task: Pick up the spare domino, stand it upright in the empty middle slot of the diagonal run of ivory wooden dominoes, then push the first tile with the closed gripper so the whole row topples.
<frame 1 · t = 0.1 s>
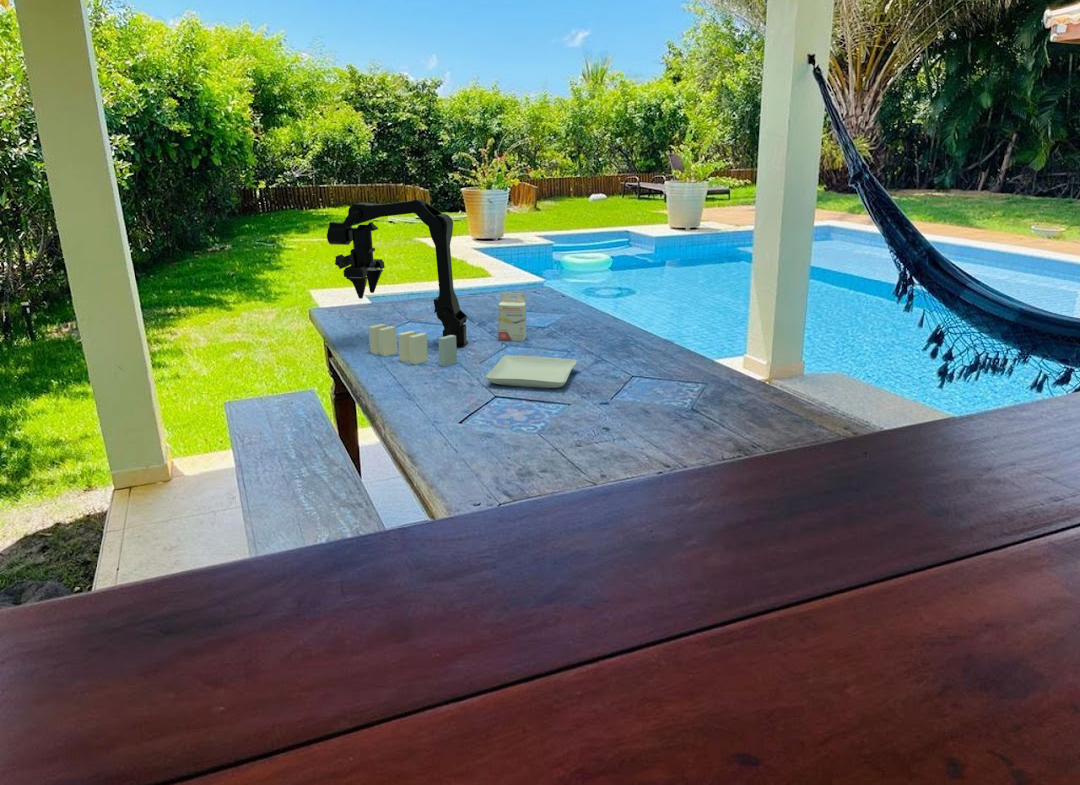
hand: (366, 295, 240), 15 cm above the table, tool pointing down, fingers open, 9 cm apart
salad plate: (533, 379, 207), on the table
domino 5: (419, 362, 222), on the table
domino 4: (408, 359, 225), on the table
ink cartridge box: (512, 339, 247), on the table
domino 2: (388, 354, 230), on the table
spare domino: (448, 364, 220), on the table
domino 1: (379, 351, 233), on the table
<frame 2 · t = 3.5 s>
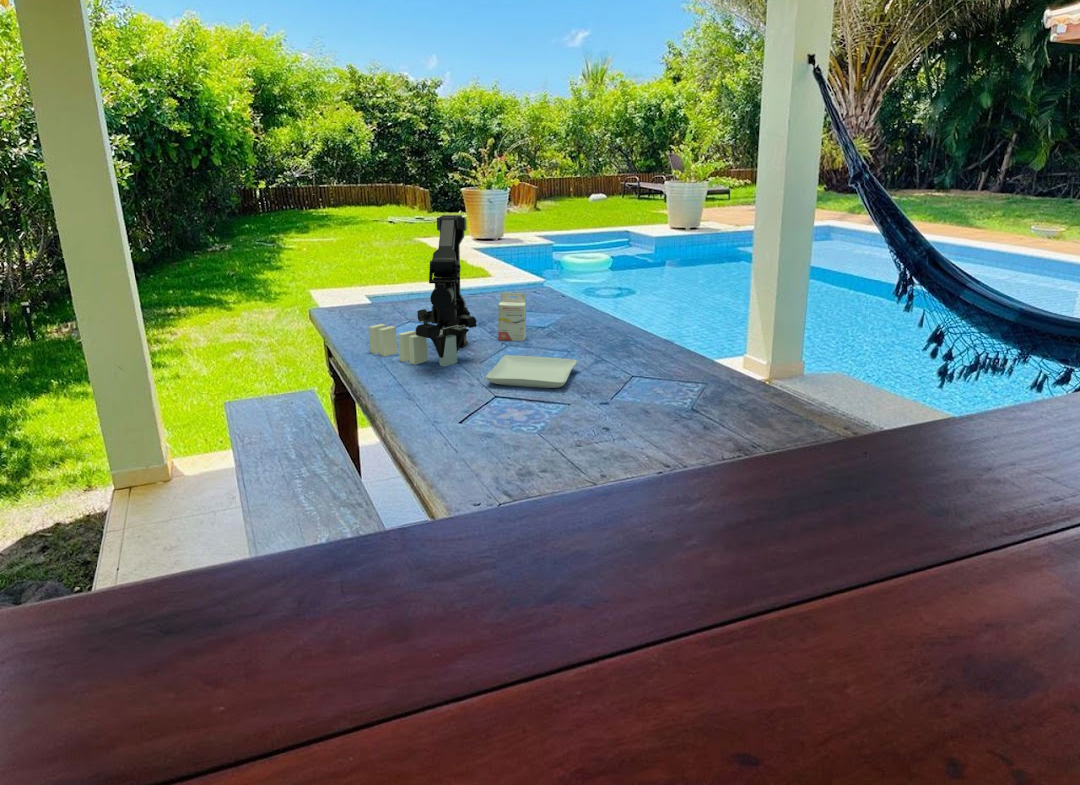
hand: (448, 355, 219), 3 cm above the table, tool pointing down, fingers closed on spare domino, 5 cm apart
spare domino: (448, 364, 220), on the table, touching gripper
everything else where it was.
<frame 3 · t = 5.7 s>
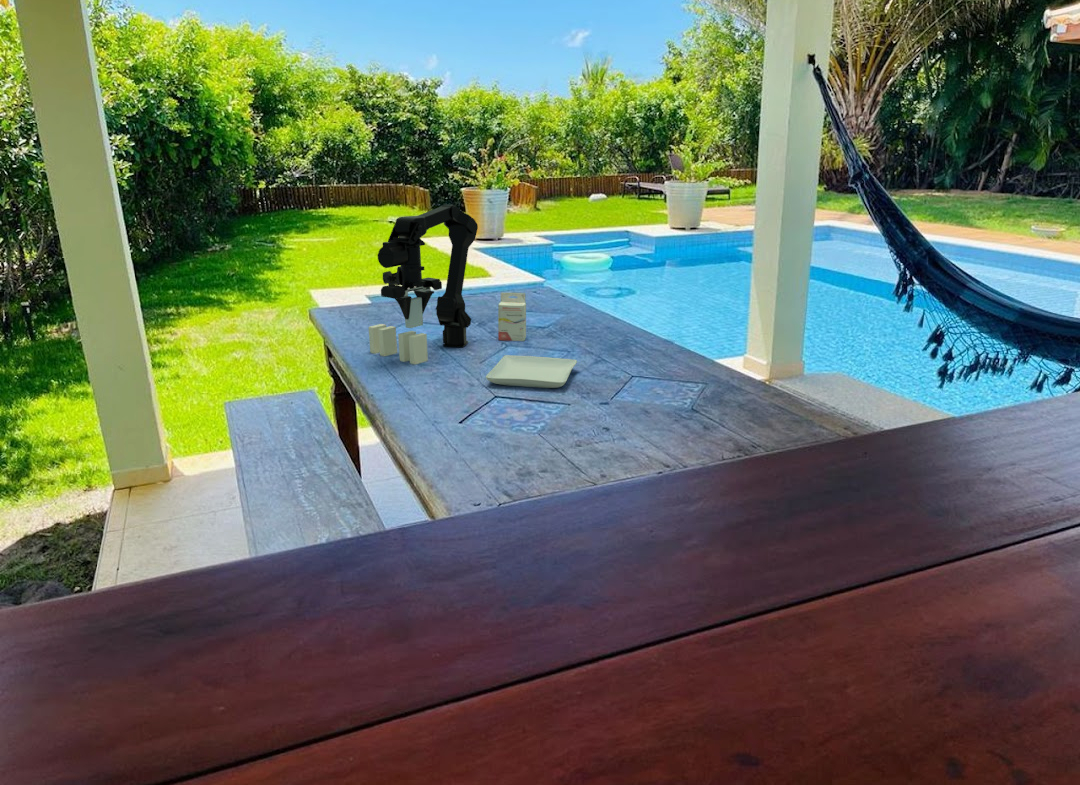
hand: (413, 317, 221), 12 cm above the table, tool pointing down, fingers closed on spare domino, 5 cm apart
spare domino: (414, 326, 221), point 10 cm above the table, touching gripper
everything else where it was.
when the fingers open (4 cm above the table, at t = 8.2 s): spare domino stays where it is, on the table.
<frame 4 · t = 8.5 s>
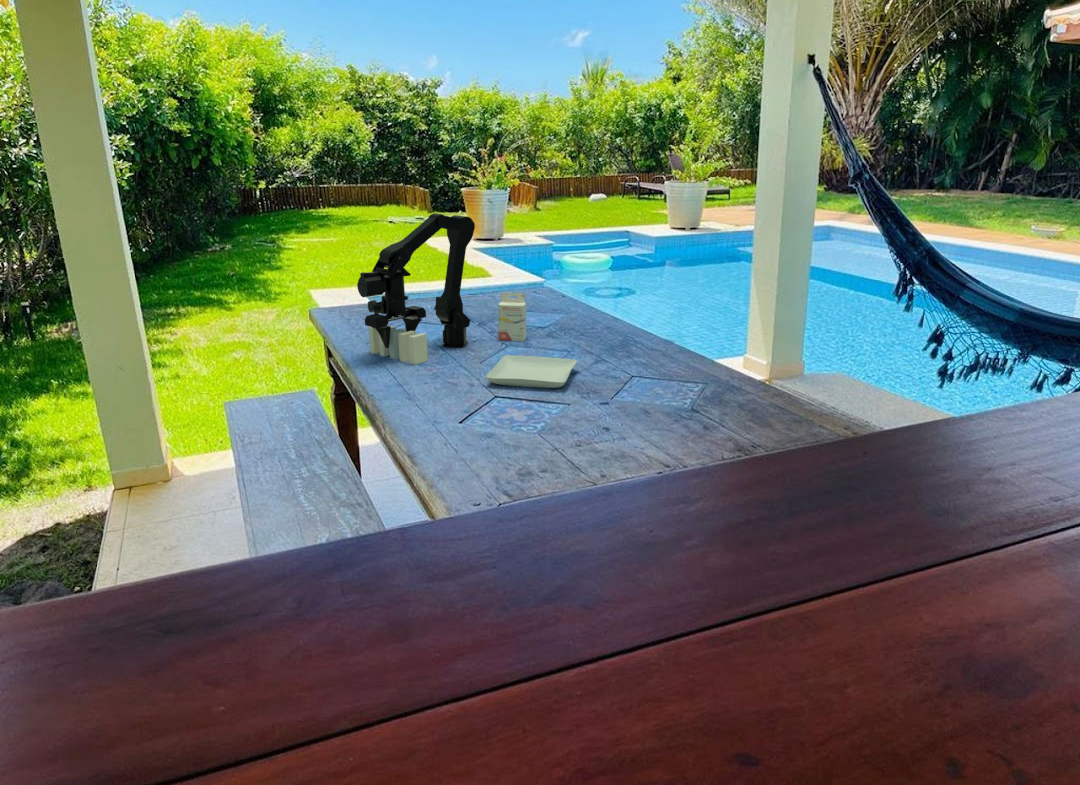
hand: (397, 345, 226), 4 cm above the table, tool pointing down, fingers open, 8 cm apart
spare domino: (398, 356, 227), on the table
everything else where it was.
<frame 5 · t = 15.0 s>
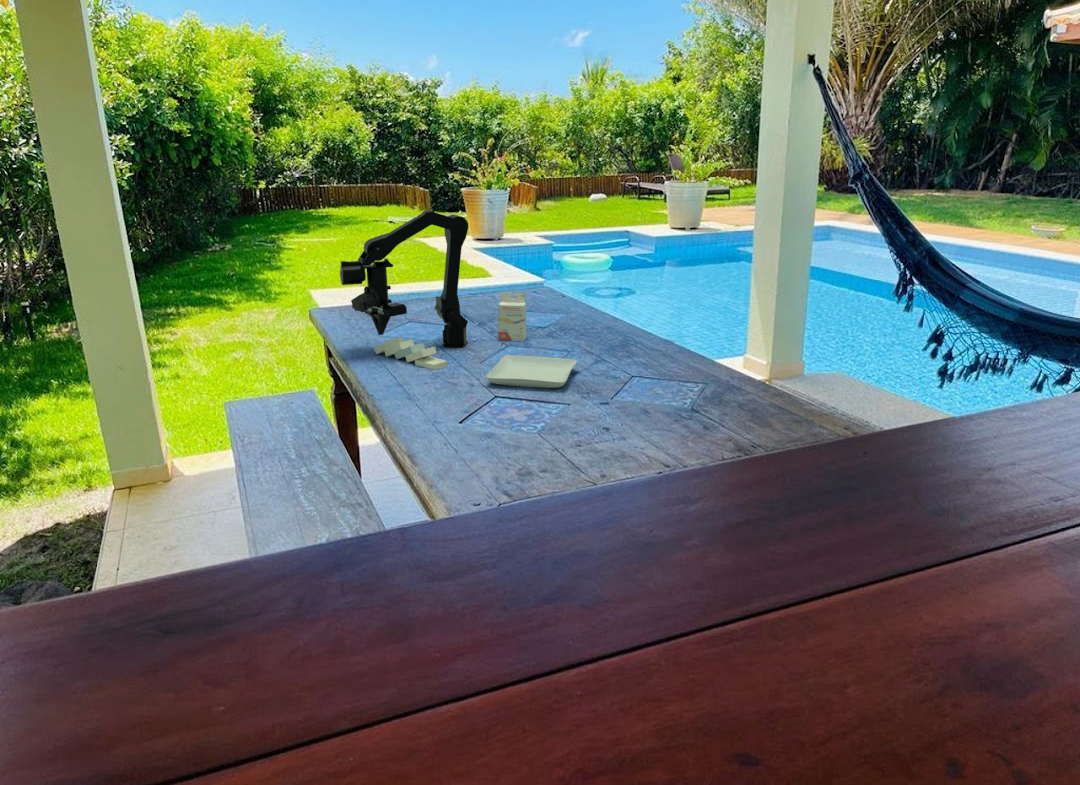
hand: (380, 334, 230), 6 cm above the table, tool pointing down, fingers closed
domino 5: (421, 361, 221), on the table, tilted 90°, touching domino 4
domino 4: (412, 357, 223), point 1 cm above the table, tilted 67°, touching domino 5, spare domino
domino 2: (391, 351, 229), point 1 cm above the table, tilted 64°, touching domino 1, spare domino
spare domino: (401, 354, 226), point 1 cm above the table, tilted 66°, touching domino 2, domino 4
domino 1: (381, 349, 232), point 1 cm above the table, tilted 64°, touching domino 2
everything else where it was.
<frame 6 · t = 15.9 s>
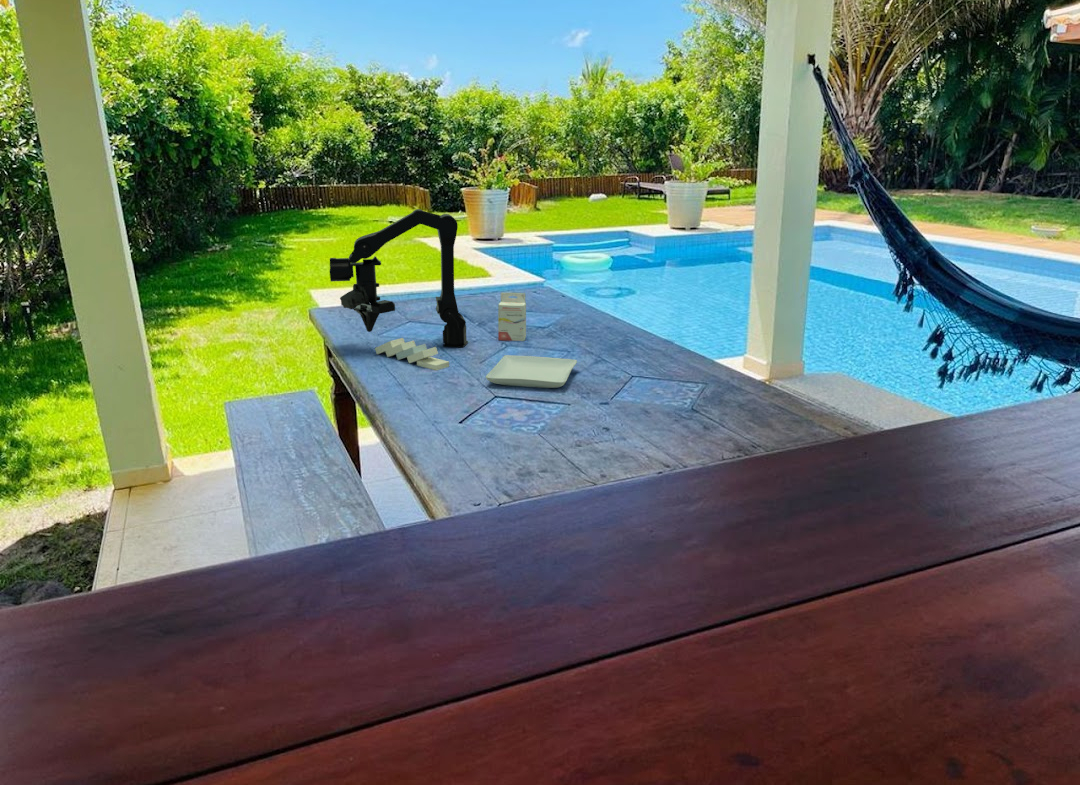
hand: (369, 331, 233), 6 cm above the table, tool pointing down, fingers closed
domino 4: (414, 358, 222), point 1 cm above the table, tilted 67°, touching domino 5
spare domino: (403, 355, 226), point 1 cm above the table, tilted 67°, touching domino 2
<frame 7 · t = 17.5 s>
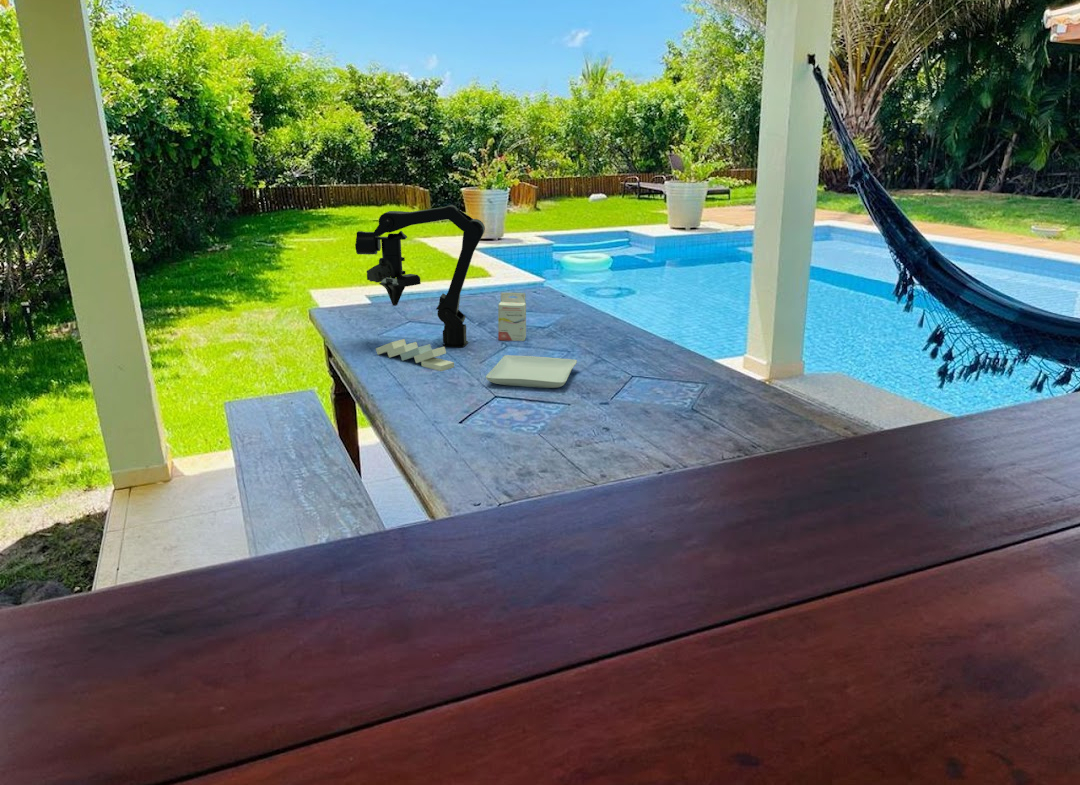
hand: (394, 305, 236), 12 cm above the table, tool pointing down, fingers closed
domino 5: (427, 362, 220), on the table, tilted 90°, touching domino 4
domino 4: (421, 358, 221), point 1 cm above the table, tilted 67°, touching domino 5
spare domino: (407, 355, 225), point 1 cm above the table, tilted 67°, touching domino 2
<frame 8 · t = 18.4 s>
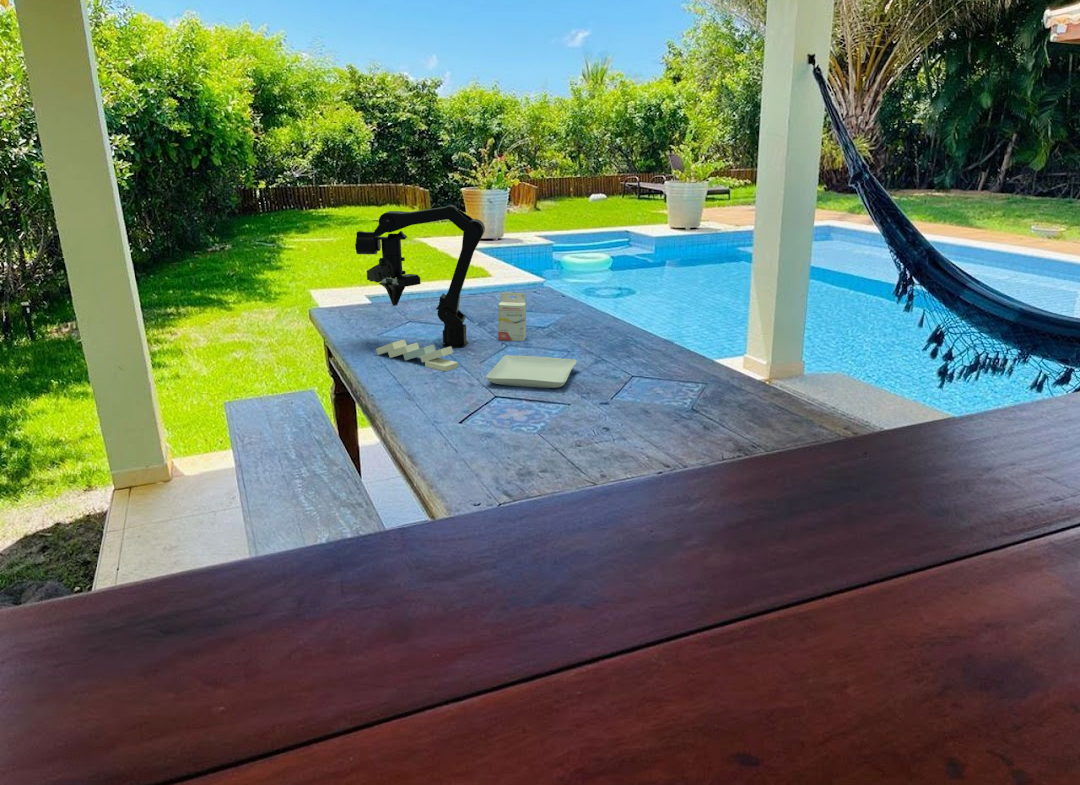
hand: (394, 305, 236), 13 cm above the table, tool pointing down, fingers closed
domino 5: (431, 363, 219), on the table, tilted 90°, touching domino 4
domino 4: (426, 357, 221), point 2 cm above the table, tilted 68°, touching domino 5, spare domino
domino 2: (395, 353, 228), point 1 cm above the table, tilted 69°, touching domino 1
spare domino: (409, 355, 224), point 1 cm above the table, tilted 69°, touching domino 4
at the end: spare domino inside the target area (1.8 cm from its centre), point 1.1 cm above the table; spare domino tilted 69°; domino 5 tilted 90° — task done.
